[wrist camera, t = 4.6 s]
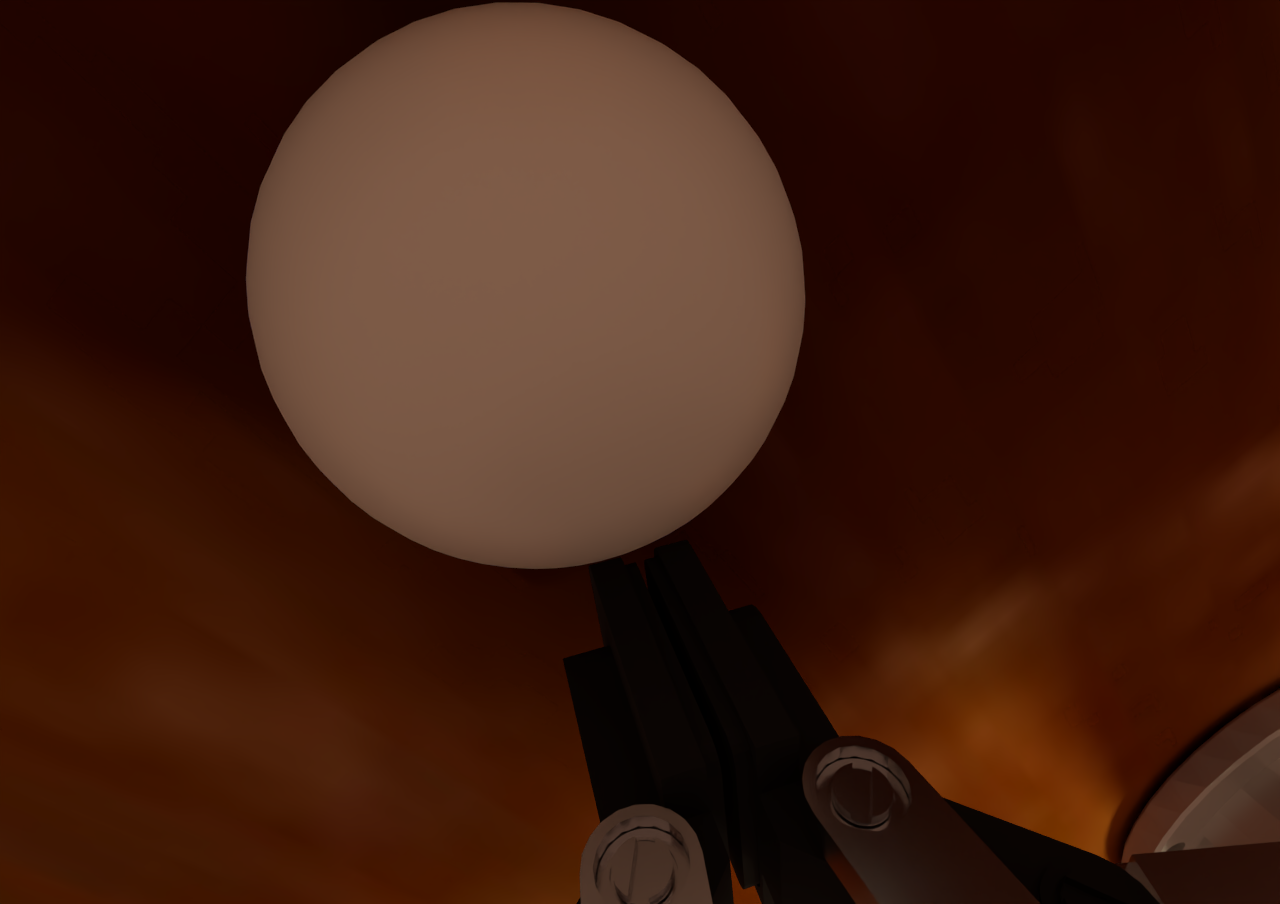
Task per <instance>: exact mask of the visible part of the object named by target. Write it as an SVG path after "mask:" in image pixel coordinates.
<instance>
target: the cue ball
mask: <svg viewBox="0 0 1280 904" xmlns="http://www.w3.org/2000/svg"><path fill="white" fill-rule="evenodd" d="M246 288H247V301H248V315H249V319H250V324H251V328H252V332H253V337H254V341H255V345H256V349H257V354H258V358H259V362H260V366H261V370H262V372H263V375H264V377H265V380H266V382H267V385H268V387H269V389H270V392H271V394H272V397H273V399H274V401H275V403H276V405H277V407H278V408H279V410H280V412H281V414H282V416H283V418H284V419H285V421H286V423H287V424H288V426H289V428H290V429H291V431H292V433H293V435H294V436H295V438H296V440H297V441H298V443H299V445H300V446H301V447H302V448H303V450H304V451H305V452H306V453H307V455H308V456H309V457H310V459H311V460H312V461H313V462H314V464H315V465H316V466H317V467H318V468H319V469H320V471H321V472H322V473H323V474H324V475H325V476H326V477H327V478H328V479H329V480H330V481H331V482H332V483H333V484H334V485H335V486H336V487H337V488H338V489H339V490H340V491H341V492H342V493H343V494H344V495H345V496H347V497H348V498H349V499H350V500H351V501H352V502H353V503H354V504H356V505H357V506H358V507H360V508H361V509H362V510H364V511H365V512H366V513H368V514H369V515H370V516H371V517H373V518H374V519H376V520H378V521H379V522H381V523H383V524H384V525H386V526H388V527H389V528H391V529H393V530H395V531H396V532H398V533H400V534H401V535H403V536H405V537H407V538H409V539H410V540H413V541H415V542H417V543H419V544H421V545H424V546H426V547H428V548H430V549H432V550H435V551H438V552H441V553H444V554H447V555H450V556H453V557H456V558H459V559H464V560H468V561H472V562H476V563H481V564H487V565H495V566H502V567H510V568H527V569H548V568H563V567H571V566H579V565H584V564H589V563H594V562H599V561H603V560H606V559H610V558H613V557H616V556H620V555H623V554H625V553H628V552H630V551H633V550H635V549H638V548H641V547H643V546H645V545H648V544H650V543H652V542H654V541H656V540H658V539H660V538H662V537H664V536H666V535H668V534H670V533H671V532H673V531H674V530H676V529H678V528H679V527H681V526H683V525H684V524H686V523H687V522H689V521H690V520H692V519H693V518H694V517H696V516H697V515H698V514H700V513H701V512H702V511H704V510H705V509H706V508H707V507H709V506H710V505H711V504H712V503H713V502H714V501H715V500H716V499H717V498H718V497H719V496H720V495H721V494H722V493H724V492H725V491H726V490H727V488H728V487H729V486H730V485H731V484H732V483H733V482H734V481H735V480H736V479H737V477H738V476H739V475H740V474H741V473H742V472H743V470H744V469H745V468H746V467H747V466H748V465H749V463H750V462H751V461H752V459H753V458H754V456H755V455H756V453H757V452H758V451H759V449H760V448H761V446H762V445H763V443H764V442H765V440H766V438H767V436H768V434H769V432H770V430H771V428H772V426H773V424H774V422H775V420H776V418H777V416H778V414H779V412H780V410H781V408H782V406H783V404H784V402H785V399H786V397H787V394H788V391H789V388H790V385H791V383H792V380H793V377H794V373H795V368H796V363H797V359H798V354H799V349H800V344H801V339H802V334H803V328H804V313H805V285H804V271H803V257H802V248H801V244H800V239H799V235H798V230H797V226H796V221H795V217H794V214H793V211H792V208H791V206H790V203H789V200H788V197H787V195H786V192H785V189H784V187H783V184H782V182H781V179H780V176H779V174H778V171H777V169H776V167H775V165H774V163H773V162H772V160H771V158H770V156H769V154H768V153H767V151H766V149H765V147H764V146H763V144H762V142H761V140H760V139H759V137H758V136H757V134H756V133H755V132H754V130H753V129H752V128H751V126H750V125H749V124H748V122H747V121H746V120H745V118H744V117H743V116H742V115H741V113H740V112H739V111H738V109H737V108H736V107H735V106H734V104H733V103H732V102H731V101H730V99H729V98H728V97H727V95H726V94H725V93H724V92H723V91H721V90H720V89H719V88H718V87H717V86H716V85H715V84H714V83H713V82H712V81H711V80H710V79H709V78H708V77H707V76H706V75H705V74H704V73H702V72H701V71H700V70H699V69H698V68H697V67H696V66H694V65H693V64H691V63H690V62H688V61H687V60H686V59H684V58H683V57H681V56H680V55H678V54H677V53H676V52H674V51H673V50H671V49H670V48H668V47H667V46H666V45H664V44H662V43H660V42H658V41H656V40H654V39H652V38H650V37H648V36H646V35H644V34H642V33H640V32H638V31H636V30H634V29H632V28H630V27H628V26H626V25H624V24H622V23H620V22H618V21H614V20H611V19H608V18H605V17H602V16H599V15H596V14H593V13H590V12H587V11H583V10H580V9H574V8H568V7H562V6H556V5H549V4H543V3H498V2H496V3H490V4H483V5H476V6H470V7H463V8H456V9H452V10H449V11H446V12H443V13H440V14H437V15H433V16H430V17H427V18H424V19H421V20H418V21H415V22H413V23H411V24H409V25H407V26H405V27H403V28H401V29H399V30H397V31H395V32H393V33H391V34H389V35H387V36H385V37H383V38H381V39H379V40H377V41H376V42H374V43H373V44H372V45H370V46H369V47H368V48H366V49H365V50H364V51H362V52H361V53H359V54H358V55H357V56H355V57H354V58H353V59H351V60H350V61H349V62H347V63H346V64H345V65H343V66H342V67H340V68H339V69H338V70H336V71H335V72H334V73H333V74H332V75H331V76H330V77H329V79H328V80H327V81H326V82H325V83H324V84H323V85H322V86H321V87H320V88H319V89H318V90H317V91H316V92H315V93H314V94H313V95H312V96H311V97H310V98H309V99H308V100H307V101H306V103H305V104H304V106H303V107H302V109H301V110H300V112H299V113H298V115H297V116H296V117H295V119H294V120H293V122H292V123H291V125H290V126H289V128H288V129H287V131H286V132H285V134H284V135H283V138H282V140H281V142H280V144H279V146H278V148H277V151H276V153H275V155H274V157H273V159H272V162H271V164H270V166H269V168H268V170H267V172H266V175H265V177H264V179H263V181H262V183H261V186H260V190H259V193H258V197H257V201H256V205H255V208H254V212H253V216H252V220H251V225H250V236H249V247H248V258H247V271H246Z"/></svg>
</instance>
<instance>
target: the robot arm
mask: <svg viewBox="0 0 1280 904" xmlns="http://www.w3.org/2000/svg"><path fill="white" fill-rule="evenodd" d="M645 571H646V578H647V585H648V589H647V587H646V585H645V582H644V580H643V578H642V575H641V573H640V571H639V568H638V566H637V564H636V563H631V564H628V565H624V562H623V560H622V558H621V557H620V558H616V559H612V560H608V561H604V562H601V563H597V564H593V565H589V572H590V578H591V583H592V588H593V593H594V598H595V603H596V608H597V613H598V618H599V623H600V628H601V633H602V638H603V643H604V647H602V648H599V649H595V650H592V651H588V652H585V653H581V654H578V655H574V656H571V657H567V658H564V659H563V661H564V665H565V670H566V674H567V679H568V683H569V687H570V692H571V696H572V700H573V705H574V709H575V714H576V718H577V722H578V727H579V731H580V736H581V740H582V744H583V749H584V753H585V757H586V762H587V766H588V771H589V775H590V779H591V784H592V788H593V792H594V797H595V801H596V806H597V810H598V814H599V819H600V824H599V826H598V827H597V828H596V829H595V831H594V832H593V833H592V834H591V836H590V837H589V839H588V842H587V844H586V847H585V849H584V851H583V854H582V860H581V868H580V894H581V897H580V899H579V900H578V902H577V904H734V902H733V891H732V880H731V869H730V860H731V863H732V866H733V868H734V871H735V873H736V876H737V878H738V881H739V883H740V885H741V887H742V888H743V889H746V888H749V887H752V886H754V885H755V888H756V890H757V893H758V895H759V898H760V900H761V902H762V904H1280V689H1279V690H1277V691H1275V692H1274V693H1272V694H1270V695H1269V696H1267V697H1266V698H1264V699H1262V700H1261V701H1259V702H1257V703H1256V704H1254V705H1253V706H1251V707H1250V708H1248V709H1247V710H1246V711H1244V712H1243V713H1242V714H1240V715H1239V716H1237V717H1236V718H1235V719H1233V720H1232V721H1230V722H1229V723H1228V724H1226V725H1225V726H1224V727H1222V728H1221V729H1220V730H1219V731H1218V732H1216V733H1215V734H1214V735H1213V736H1212V737H1210V738H1209V739H1208V740H1207V741H1206V742H1205V743H1203V744H1202V745H1201V746H1200V747H1199V748H1198V749H1196V750H1195V751H1194V752H1193V753H1192V754H1191V755H1190V756H1189V757H1188V758H1187V759H1186V760H1185V761H1184V762H1183V763H1182V764H1181V765H1180V766H1179V767H1178V768H1177V769H1176V770H1175V771H1174V772H1173V773H1172V774H1171V775H1170V776H1169V777H1168V778H1167V779H1166V781H1165V782H1164V783H1163V784H1162V785H1161V787H1160V788H1159V789H1158V790H1157V792H1156V793H1155V794H1154V795H1153V796H1152V798H1151V799H1150V800H1149V801H1148V803H1147V804H1146V806H1145V807H1144V809H1143V810H1142V812H1141V813H1140V815H1139V816H1138V818H1137V820H1136V821H1135V823H1134V824H1133V827H1132V829H1131V831H1130V833H1129V835H1128V838H1127V840H1126V842H1125V844H1124V849H1123V854H1122V859H1121V863H1116V864H1113V863H1111V862H1109V861H1107V860H1105V859H1103V858H1101V857H1099V856H1097V855H1095V854H1092V853H1089V852H1087V851H1084V850H1081V849H1079V848H1076V847H1073V846H1071V845H1068V844H1065V843H1063V842H1060V841H1057V840H1055V839H1052V838H1049V837H1047V836H1044V835H1041V834H1039V833H1036V832H1033V831H1031V830H1028V829H1025V828H1023V827H1020V826H1017V825H1015V824H1012V823H1009V822H1007V821H1004V820H1001V819H999V818H996V817H993V816H991V815H988V814H985V813H983V812H980V811H977V810H975V809H972V808H969V807H967V806H964V805H961V804H959V803H956V802H953V801H951V800H948V799H945V798H943V797H941V796H940V795H939V793H938V792H937V791H936V790H935V789H934V788H933V787H932V786H931V785H930V784H929V783H928V782H927V781H926V779H925V778H924V777H923V776H922V775H921V774H920V773H919V772H918V771H917V770H916V769H915V768H914V766H913V765H912V764H911V763H910V762H909V761H908V760H907V759H906V758H904V757H903V756H902V755H901V754H900V753H898V752H897V751H896V750H895V749H894V748H892V747H890V746H888V745H886V744H884V743H882V742H880V741H878V740H875V739H870V738H866V737H861V736H840V737H839V736H838V734H837V733H836V731H835V729H834V728H833V726H832V725H831V723H830V722H829V720H828V718H827V717H826V715H825V714H824V712H823V711H822V709H821V707H820V706H819V704H818V703H817V701H816V700H815V698H814V696H813V695H812V693H811V692H810V690H809V688H808V687H807V685H806V684H805V682H804V681H803V679H802V677H801V676H800V674H799V673H798V671H797V670H796V668H795V666H794V665H793V663H792V662H791V660H790V659H789V657H788V655H787V654H786V652H785V651H784V649H783V648H782V646H781V644H780V643H779V641H778V640H777V638H776V637H775V635H774V633H773V632H772V630H771V629H770V627H769V625H768V624H767V622H766V621H765V619H764V618H763V616H762V614H761V613H760V612H759V610H758V609H757V608H756V607H755V606H753V605H748V606H745V607H741V608H738V609H734V610H731V611H728V610H727V608H726V606H725V604H724V603H723V601H722V599H721V597H720V596H719V594H718V592H717V590H716V589H715V587H714V585H713V583H712V582H711V580H710V578H709V576H708V575H707V573H706V571H705V569H704V568H703V566H702V564H701V562H700V561H699V559H698V557H697V556H696V554H695V552H694V550H693V549H692V547H691V545H690V544H689V542H688V541H687V540H684V541H680V542H676V543H672V544H669V545H665V546H661V547H657V548H655V549H654V558H650V559H646V560H645Z"/></svg>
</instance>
